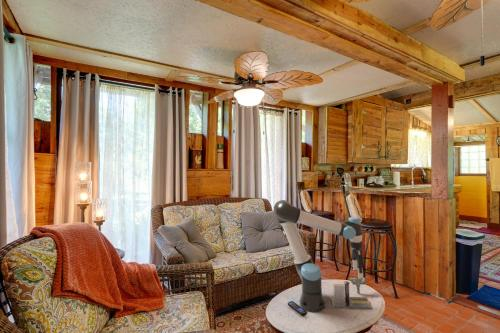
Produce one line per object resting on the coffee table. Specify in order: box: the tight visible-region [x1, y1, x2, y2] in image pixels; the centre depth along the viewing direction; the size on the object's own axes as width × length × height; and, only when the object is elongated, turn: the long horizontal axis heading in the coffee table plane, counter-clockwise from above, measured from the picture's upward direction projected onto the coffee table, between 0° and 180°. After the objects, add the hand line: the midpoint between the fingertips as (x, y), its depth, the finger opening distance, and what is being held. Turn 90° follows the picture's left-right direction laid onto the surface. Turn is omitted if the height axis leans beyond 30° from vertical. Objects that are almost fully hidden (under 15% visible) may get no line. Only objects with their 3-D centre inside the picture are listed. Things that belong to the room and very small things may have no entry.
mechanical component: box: [349, 276, 367, 295], centre depth 177 cm, size 3×10×10 cm, turn 89°
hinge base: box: [329, 280, 373, 310], centre depth 164 cm, size 22×12×13 cm, turn 82°
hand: (358, 273), depth 177 cm, fingers open, 13 cm apart
